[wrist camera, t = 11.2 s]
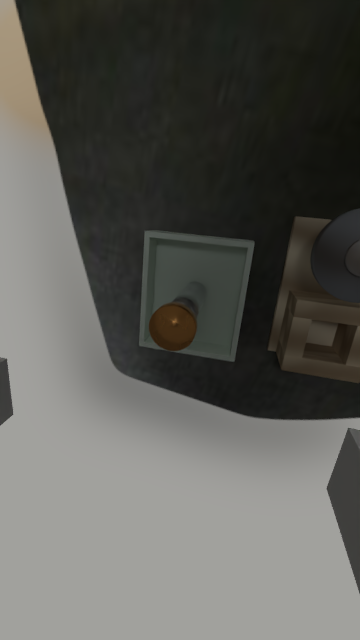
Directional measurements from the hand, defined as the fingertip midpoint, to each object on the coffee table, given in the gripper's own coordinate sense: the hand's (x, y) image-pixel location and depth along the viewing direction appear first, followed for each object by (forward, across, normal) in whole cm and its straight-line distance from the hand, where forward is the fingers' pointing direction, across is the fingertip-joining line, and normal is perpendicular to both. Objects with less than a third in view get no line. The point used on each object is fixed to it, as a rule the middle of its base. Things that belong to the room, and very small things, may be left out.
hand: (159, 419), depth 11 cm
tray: (+27, -2, -2) cm, 27 cm away
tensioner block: (+27, +12, +1) cm, 30 cm away
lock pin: (+26, -2, -2) cm, 27 cm away
